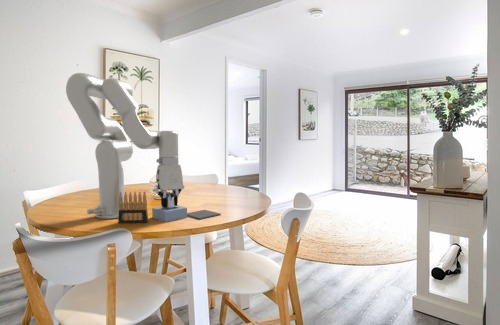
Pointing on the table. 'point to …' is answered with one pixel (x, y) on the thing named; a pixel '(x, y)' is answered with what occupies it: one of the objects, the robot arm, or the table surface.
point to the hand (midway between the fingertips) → (169, 205)
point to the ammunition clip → (132, 209)
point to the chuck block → (169, 213)
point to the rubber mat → (202, 214)
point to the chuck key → (170, 200)
